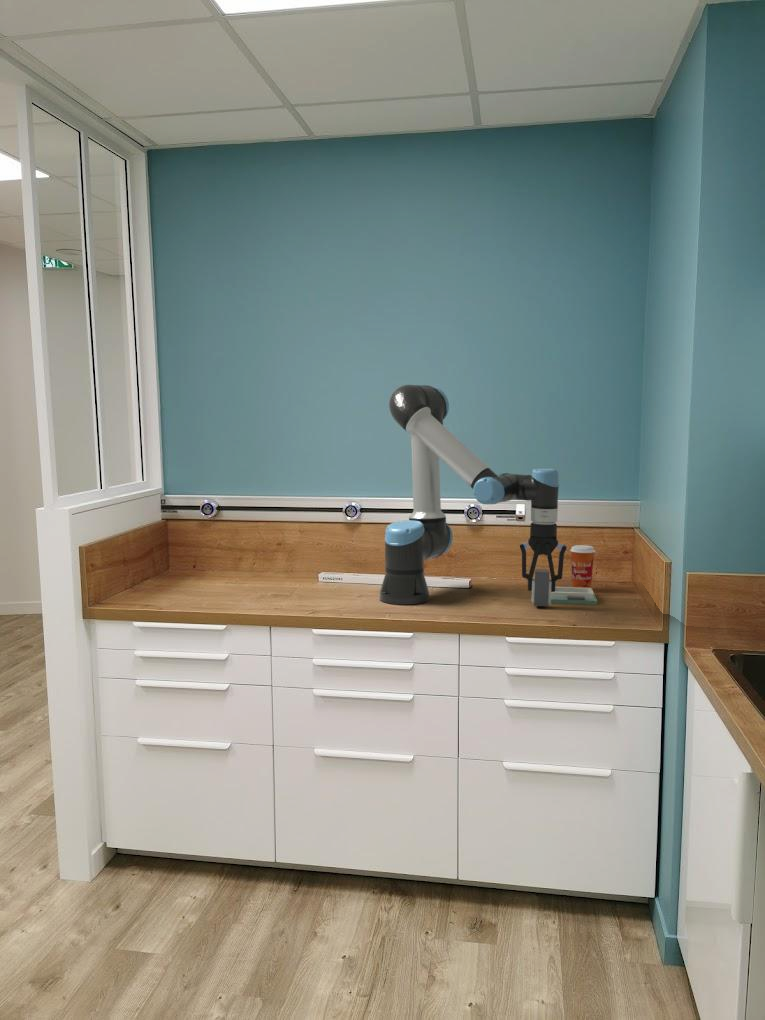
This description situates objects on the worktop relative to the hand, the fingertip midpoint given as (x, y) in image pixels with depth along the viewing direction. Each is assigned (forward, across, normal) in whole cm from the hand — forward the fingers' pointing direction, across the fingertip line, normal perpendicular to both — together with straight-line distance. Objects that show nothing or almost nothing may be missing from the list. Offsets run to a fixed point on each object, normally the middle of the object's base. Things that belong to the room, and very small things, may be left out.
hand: (540, 602), depth 237 cm
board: (+2, +7, +13) cm, 15 cm away
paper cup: (+2, +13, +26) cm, 29 cm away
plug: (+1, 0, 0) cm, 1 cm away
